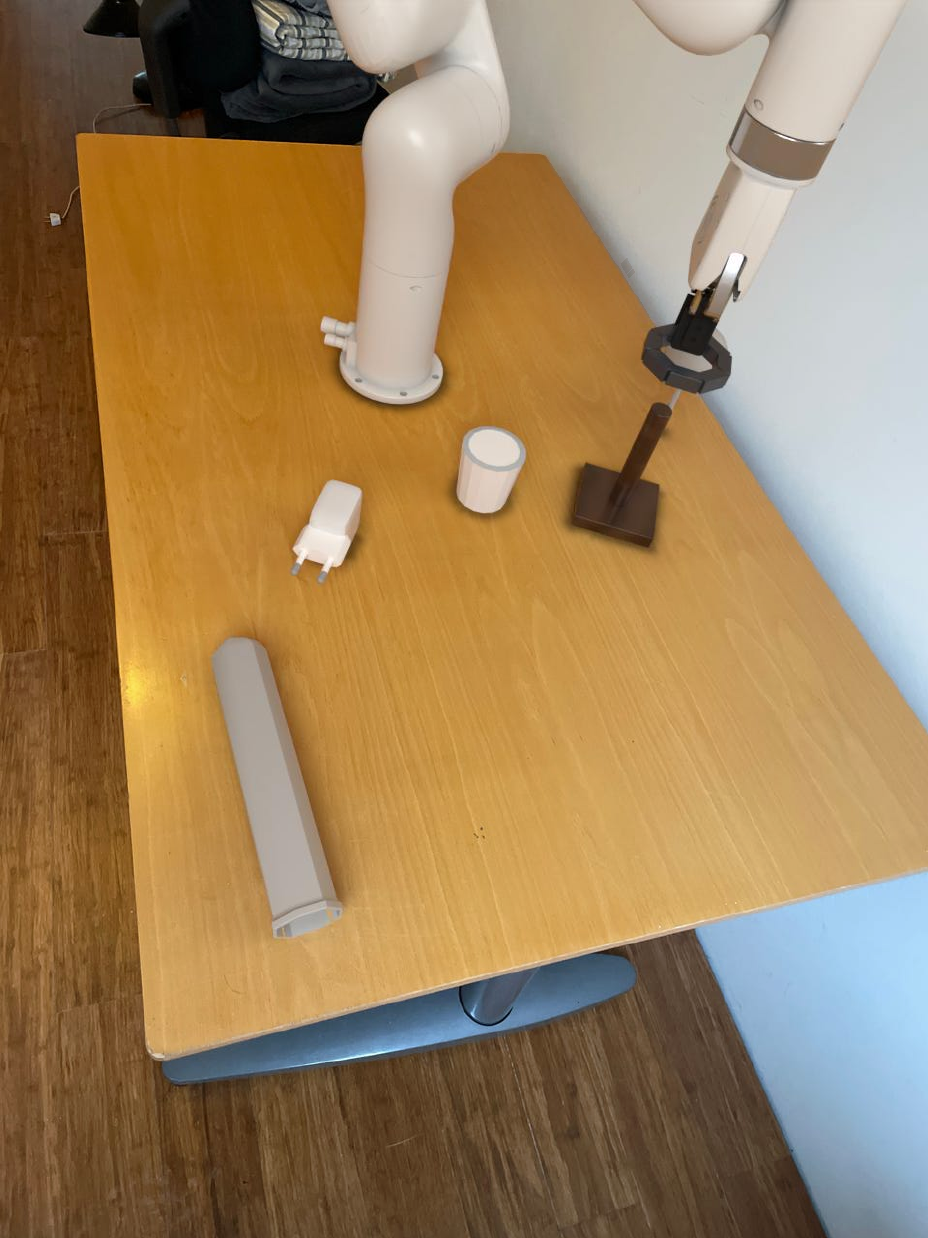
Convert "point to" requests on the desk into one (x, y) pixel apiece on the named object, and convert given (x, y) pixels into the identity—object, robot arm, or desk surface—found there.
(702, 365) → the lollipop
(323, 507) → the power adapter
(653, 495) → the post
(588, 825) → the desk surface
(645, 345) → the ring
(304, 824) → the tube
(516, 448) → the shot glass
